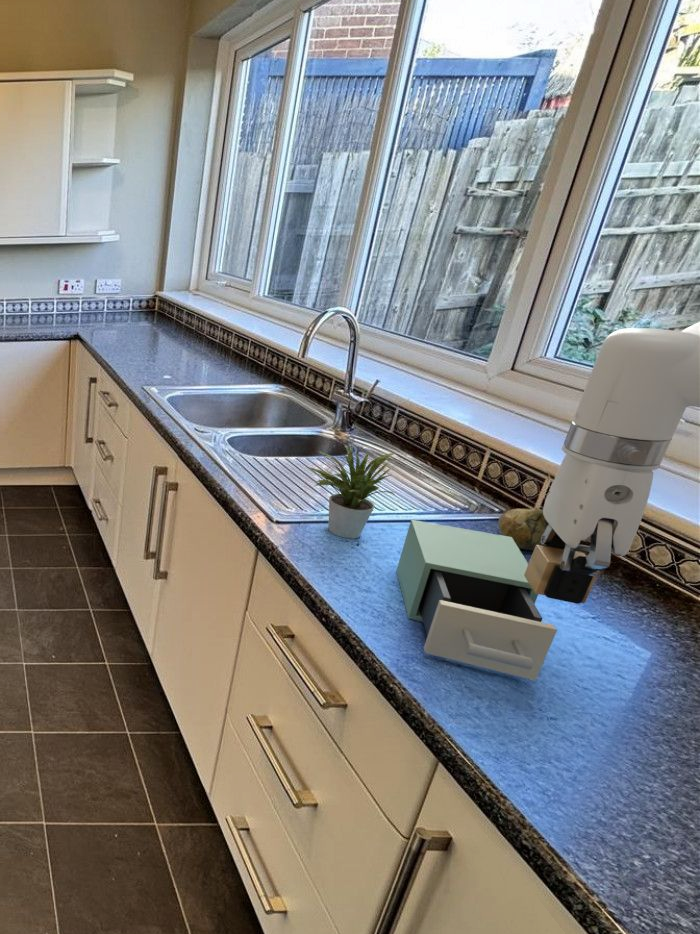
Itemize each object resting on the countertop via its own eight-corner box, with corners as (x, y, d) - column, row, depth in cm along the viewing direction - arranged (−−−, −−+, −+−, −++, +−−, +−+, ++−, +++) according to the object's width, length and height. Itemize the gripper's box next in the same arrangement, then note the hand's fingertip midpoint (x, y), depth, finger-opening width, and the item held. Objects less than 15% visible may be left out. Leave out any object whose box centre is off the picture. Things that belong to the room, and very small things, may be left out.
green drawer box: (518, 644, 85) (541, 585, 81) (408, 618, 91) (425, 562, 87) (492, 590, 97) (511, 536, 93) (396, 570, 102) (411, 519, 99)
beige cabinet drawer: (548, 707, 73) (571, 654, 70) (430, 676, 78) (448, 625, 75) (507, 621, 88) (524, 575, 85) (410, 600, 93) (424, 555, 90)
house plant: (335, 506, 125) (353, 430, 119) (407, 536, 113) (431, 454, 107) (286, 521, 119) (303, 442, 113) (357, 554, 107) (380, 468, 101)
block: (570, 584, 74) (584, 552, 73) (584, 603, 71) (599, 571, 69) (523, 575, 76) (535, 544, 74) (535, 593, 72) (548, 561, 71)
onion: (547, 542, 110) (563, 502, 107) (550, 561, 104) (566, 519, 101) (492, 530, 115) (506, 491, 112) (492, 547, 109) (506, 506, 106)
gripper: (705, 480, 58) (628, 638, 65) (625, 427, 72) (569, 561, 79) (599, 466, 61) (536, 618, 68) (542, 418, 75) (494, 548, 82)
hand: (554, 586), depth 73 cm, fingers closed on block, 4 cm apart
